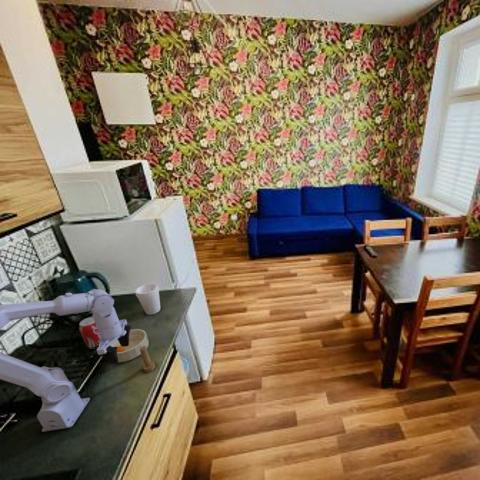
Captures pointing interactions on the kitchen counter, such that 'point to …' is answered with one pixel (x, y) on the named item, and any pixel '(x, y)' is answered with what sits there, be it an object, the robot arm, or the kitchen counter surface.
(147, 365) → the stick
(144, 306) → the foam cup
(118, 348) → the ball
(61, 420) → the robot arm
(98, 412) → the kitchen counter surface
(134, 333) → the bowl
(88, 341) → the soda can
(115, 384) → the kitchen counter surface
